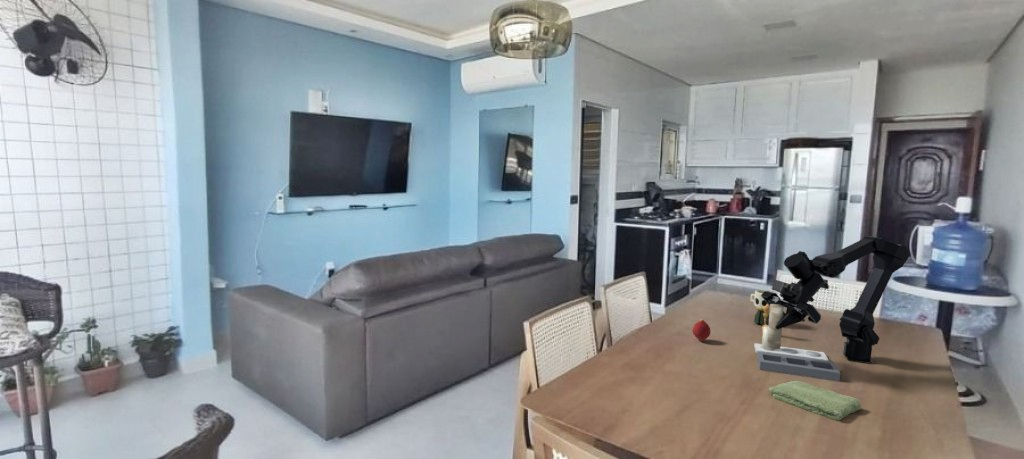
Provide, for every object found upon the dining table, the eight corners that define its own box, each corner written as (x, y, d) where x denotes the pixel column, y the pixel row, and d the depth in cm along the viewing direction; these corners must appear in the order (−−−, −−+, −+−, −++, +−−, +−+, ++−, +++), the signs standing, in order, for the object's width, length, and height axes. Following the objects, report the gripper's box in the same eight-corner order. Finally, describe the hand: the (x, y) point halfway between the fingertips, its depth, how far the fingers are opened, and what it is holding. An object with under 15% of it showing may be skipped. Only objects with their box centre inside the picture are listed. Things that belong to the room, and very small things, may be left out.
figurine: (781, 336, 179) (784, 304, 178) (775, 340, 175) (778, 307, 174) (757, 330, 185) (759, 299, 184) (751, 334, 181) (753, 302, 180)
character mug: (744, 322, 196) (746, 290, 195) (753, 319, 201) (755, 288, 199) (772, 329, 188) (775, 295, 186) (781, 325, 192) (783, 293, 191)
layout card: (823, 355, 161) (825, 331, 160) (828, 363, 154) (830, 338, 153) (754, 346, 169) (756, 323, 168) (756, 353, 162) (757, 329, 161)
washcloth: (791, 385, 138) (791, 374, 138) (863, 411, 123) (864, 399, 123) (765, 396, 131) (766, 385, 130) (838, 425, 116) (839, 412, 116)
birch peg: (782, 347, 150) (785, 305, 149) (778, 350, 148) (781, 307, 146) (769, 344, 153) (772, 303, 151) (765, 346, 150) (768, 305, 149)
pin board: (832, 369, 149) (833, 361, 149) (839, 381, 140) (840, 372, 140) (757, 359, 156) (758, 351, 156) (759, 369, 148) (760, 361, 148)
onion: (707, 338, 176) (708, 316, 175) (711, 344, 170) (713, 321, 169) (690, 337, 176) (691, 316, 175) (694, 343, 170) (695, 320, 169)
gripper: (768, 265, 157) (735, 301, 156) (816, 278, 139) (779, 317, 138) (787, 288, 160) (755, 323, 159) (836, 303, 142) (801, 343, 141)
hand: (771, 326), depth 149 cm, fingers closed on birch peg, 4 cm apart
